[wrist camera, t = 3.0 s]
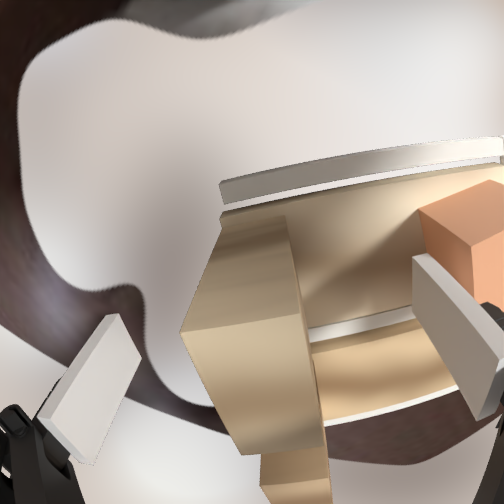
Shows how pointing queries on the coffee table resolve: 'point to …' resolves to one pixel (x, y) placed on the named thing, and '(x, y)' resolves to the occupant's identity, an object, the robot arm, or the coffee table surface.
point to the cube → (469, 239)
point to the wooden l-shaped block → (354, 398)
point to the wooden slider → (303, 294)
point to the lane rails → (356, 167)
